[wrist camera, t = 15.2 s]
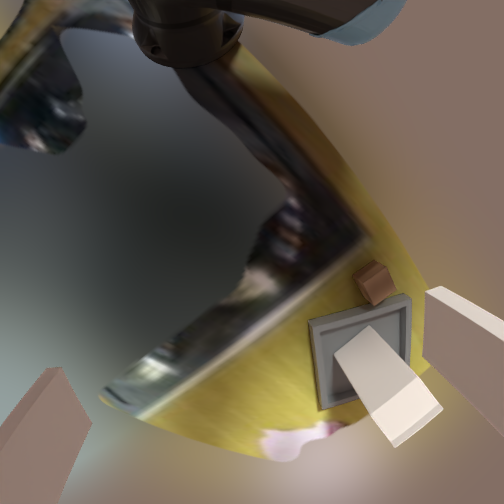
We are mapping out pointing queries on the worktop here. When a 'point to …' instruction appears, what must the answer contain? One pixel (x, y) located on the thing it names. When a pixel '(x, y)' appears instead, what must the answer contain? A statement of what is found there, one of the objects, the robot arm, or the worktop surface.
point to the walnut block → (374, 282)
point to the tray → (346, 328)
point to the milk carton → (387, 386)
